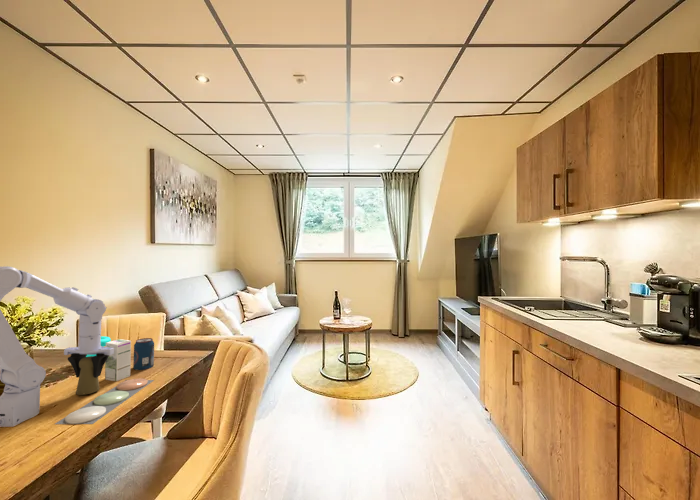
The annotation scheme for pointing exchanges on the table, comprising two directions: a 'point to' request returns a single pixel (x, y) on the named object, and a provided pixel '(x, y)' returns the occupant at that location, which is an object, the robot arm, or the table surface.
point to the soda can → (143, 354)
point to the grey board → (108, 407)
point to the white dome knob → (85, 414)
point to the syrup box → (118, 360)
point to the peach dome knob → (131, 384)
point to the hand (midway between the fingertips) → (88, 376)
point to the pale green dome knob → (111, 398)
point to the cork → (87, 377)
